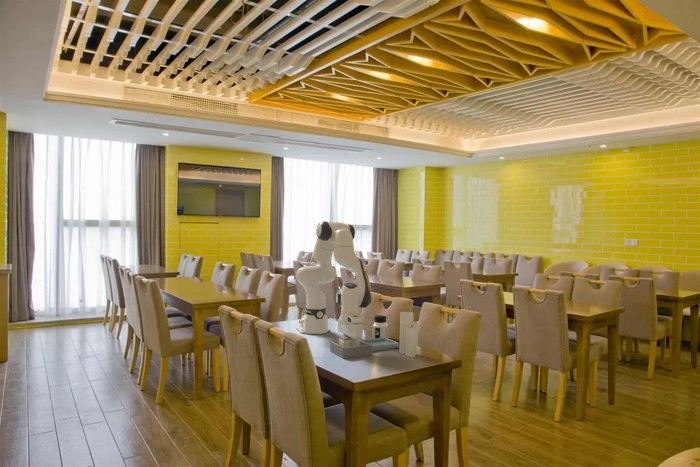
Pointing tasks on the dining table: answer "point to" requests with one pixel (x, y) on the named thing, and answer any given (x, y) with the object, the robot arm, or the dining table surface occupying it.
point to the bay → (351, 350)
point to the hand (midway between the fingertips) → (349, 344)
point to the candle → (408, 334)
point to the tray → (381, 344)
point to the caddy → (347, 341)
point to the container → (379, 327)
